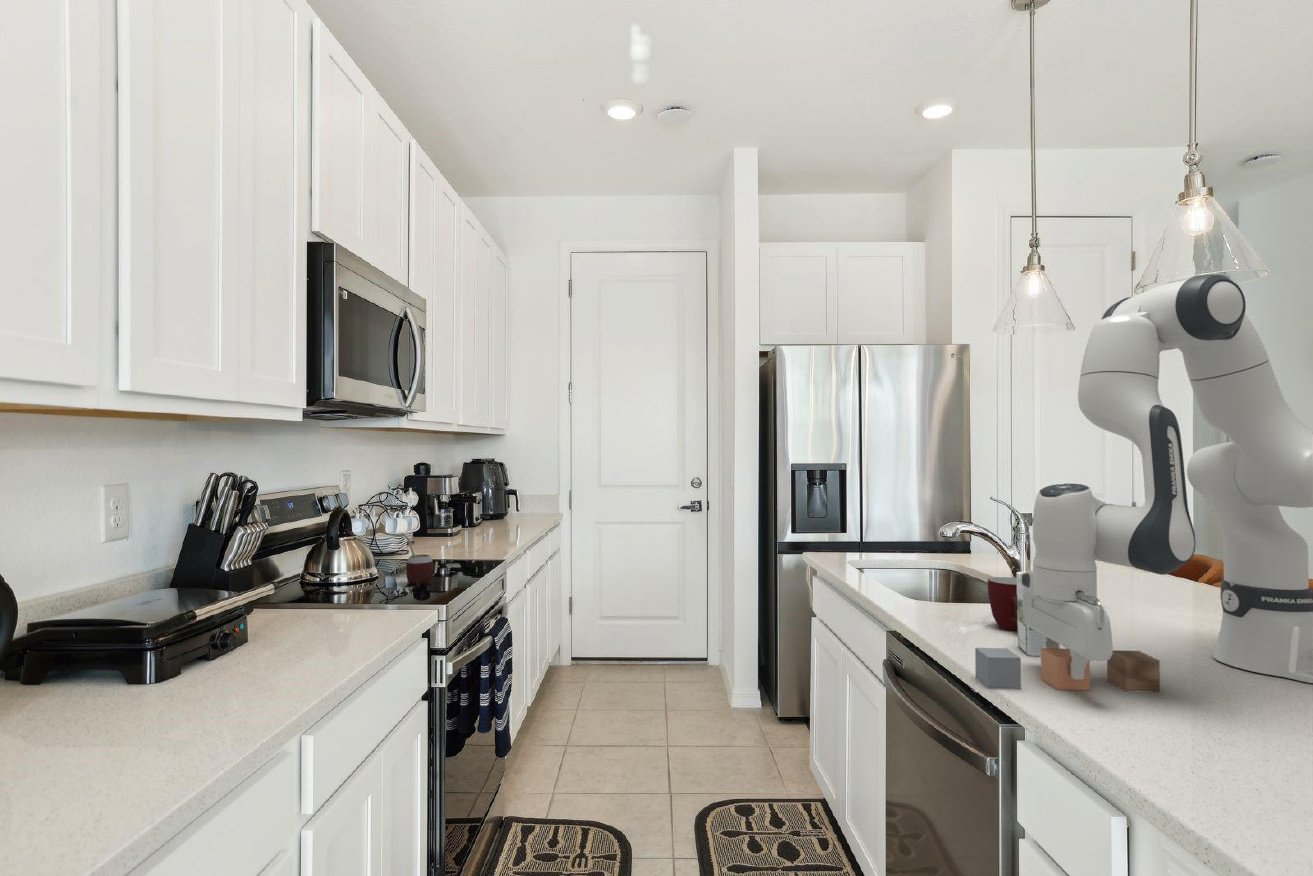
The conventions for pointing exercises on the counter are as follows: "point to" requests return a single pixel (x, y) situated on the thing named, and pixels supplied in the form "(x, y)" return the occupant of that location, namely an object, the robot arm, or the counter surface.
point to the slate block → (998, 668)
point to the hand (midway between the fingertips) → (1064, 671)
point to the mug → (1004, 601)
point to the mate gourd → (418, 568)
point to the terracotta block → (1061, 670)
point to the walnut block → (1134, 671)
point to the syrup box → (1027, 628)
